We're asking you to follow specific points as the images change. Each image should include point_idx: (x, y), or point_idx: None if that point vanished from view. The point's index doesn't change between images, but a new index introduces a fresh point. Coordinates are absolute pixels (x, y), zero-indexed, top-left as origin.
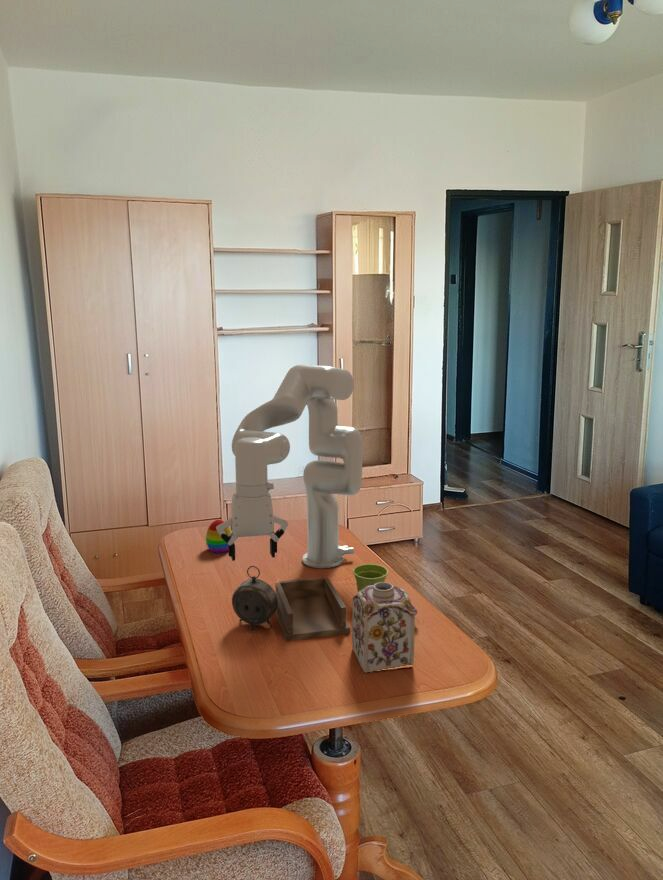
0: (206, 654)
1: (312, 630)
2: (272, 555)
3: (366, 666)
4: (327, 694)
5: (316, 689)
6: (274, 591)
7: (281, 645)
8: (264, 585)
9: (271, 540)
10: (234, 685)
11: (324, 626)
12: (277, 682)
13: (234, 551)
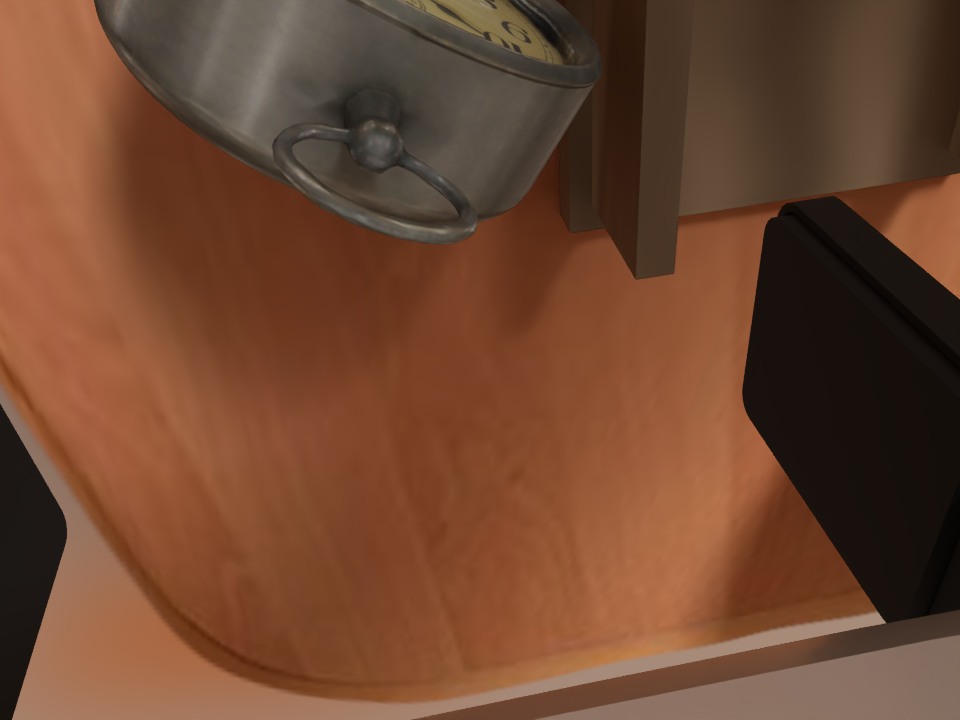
0: (54, 327)
1: (754, 182)
2: (764, 427)
3: None
4: (646, 588)
5: (615, 567)
6: (596, 78)
7: (525, 257)
8: (501, 132)
9: (958, 528)
10: (279, 555)
11: (848, 137)
12: (469, 536)
13: (3, 690)
